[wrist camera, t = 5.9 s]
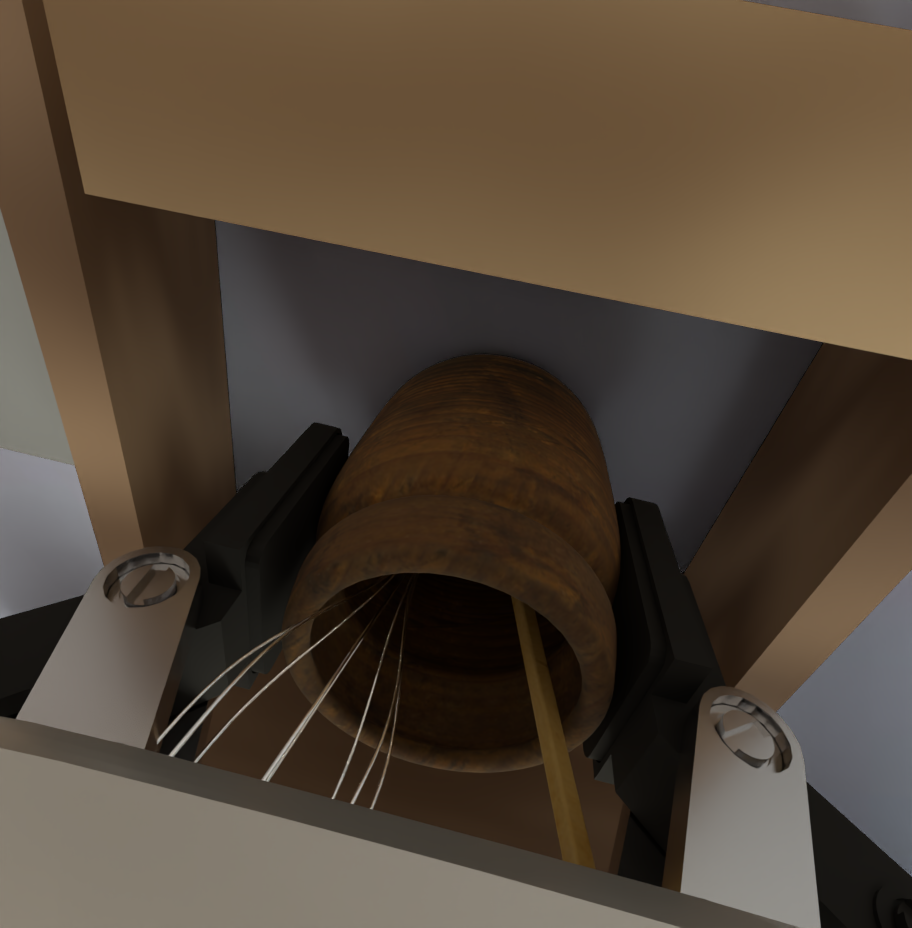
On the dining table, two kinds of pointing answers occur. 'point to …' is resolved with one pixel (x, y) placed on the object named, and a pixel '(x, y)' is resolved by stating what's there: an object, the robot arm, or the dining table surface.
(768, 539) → the walnut u-shaped frame
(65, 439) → the slate mat
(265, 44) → the oak offcut block
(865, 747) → the dining table surface
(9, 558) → the dining table surface
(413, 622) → the utensil holder
